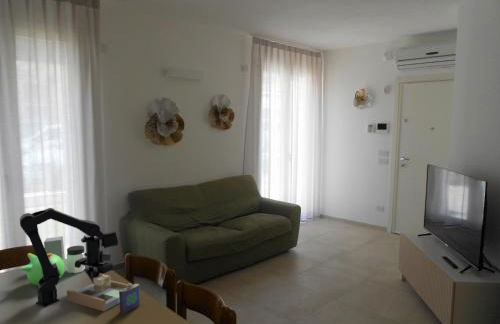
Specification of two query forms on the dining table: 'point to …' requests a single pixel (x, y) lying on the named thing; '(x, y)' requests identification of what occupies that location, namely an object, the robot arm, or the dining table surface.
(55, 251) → the skincare box
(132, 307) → the blue green box
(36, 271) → the toy bird
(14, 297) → the dining table surface
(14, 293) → the dining table surface
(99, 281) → the block
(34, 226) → the robot arm
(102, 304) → the box
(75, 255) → the jar
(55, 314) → the dining table surface
